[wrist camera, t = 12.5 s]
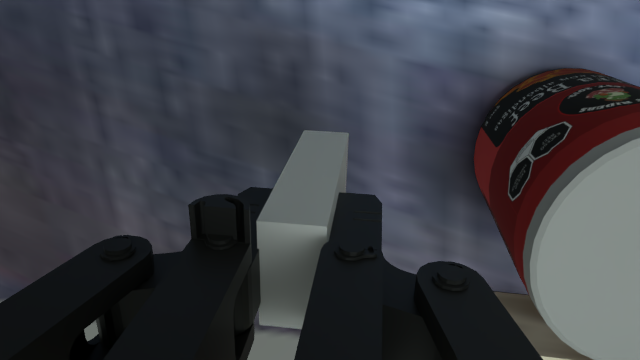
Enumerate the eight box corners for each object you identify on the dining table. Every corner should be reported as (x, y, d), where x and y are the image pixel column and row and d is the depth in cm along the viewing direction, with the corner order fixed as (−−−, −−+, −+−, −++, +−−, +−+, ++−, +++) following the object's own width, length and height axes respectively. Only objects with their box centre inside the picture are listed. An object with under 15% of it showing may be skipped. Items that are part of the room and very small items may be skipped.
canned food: (640, 52, 22) (861, 103, 11) (632, 213, 24) (807, 369, 14) (464, 78, 23) (523, 143, 13) (475, 227, 26) (531, 379, 16)
